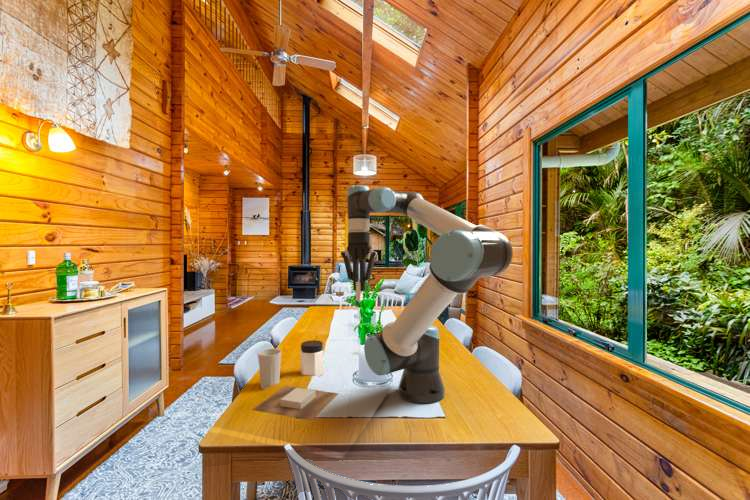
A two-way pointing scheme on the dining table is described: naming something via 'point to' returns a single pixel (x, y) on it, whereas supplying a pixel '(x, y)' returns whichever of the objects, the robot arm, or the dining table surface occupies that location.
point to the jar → (312, 358)
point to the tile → (298, 398)
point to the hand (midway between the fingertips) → (359, 300)
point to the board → (305, 413)
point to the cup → (269, 367)
